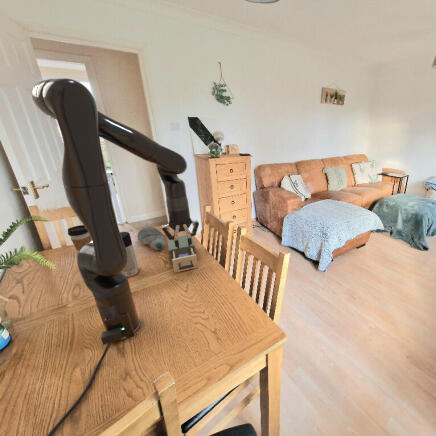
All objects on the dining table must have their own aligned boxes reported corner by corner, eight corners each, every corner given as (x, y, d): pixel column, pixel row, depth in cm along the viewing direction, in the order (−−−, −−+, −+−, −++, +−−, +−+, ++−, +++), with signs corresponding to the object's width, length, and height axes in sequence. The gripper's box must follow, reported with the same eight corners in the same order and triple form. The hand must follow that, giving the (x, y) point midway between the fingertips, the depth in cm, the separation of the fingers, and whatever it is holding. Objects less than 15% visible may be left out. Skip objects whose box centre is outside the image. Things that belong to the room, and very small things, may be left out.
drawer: (199, 272, 111) (198, 260, 109) (175, 278, 107) (173, 265, 104) (194, 254, 125) (192, 243, 123) (172, 259, 120) (170, 247, 118)
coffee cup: (71, 255, 121) (61, 229, 115) (89, 248, 129) (80, 222, 123) (83, 259, 119) (74, 232, 113) (100, 251, 127) (92, 225, 121)
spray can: (142, 269, 113) (133, 231, 105) (132, 278, 107) (121, 238, 99) (129, 268, 114) (119, 230, 106) (118, 276, 107) (106, 237, 100)
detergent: (135, 239, 140) (145, 256, 123) (134, 227, 138) (143, 243, 120) (160, 234, 148) (172, 250, 131) (159, 224, 146) (171, 238, 129)
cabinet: (196, 259, 123) (194, 245, 120) (171, 265, 118) (169, 249, 114) (192, 247, 134) (190, 234, 130) (169, 252, 128) (167, 238, 125)
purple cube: (190, 264, 115) (189, 257, 114) (180, 266, 113) (179, 259, 112) (189, 259, 119) (188, 253, 117) (179, 262, 117) (178, 254, 115)
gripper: (157, 212, 85) (165, 254, 91) (199, 207, 91) (203, 246, 98) (156, 206, 91) (164, 245, 97) (196, 201, 97) (200, 239, 104)
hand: (183, 246), depth 97 cm, fingers open, 3 cm apart
